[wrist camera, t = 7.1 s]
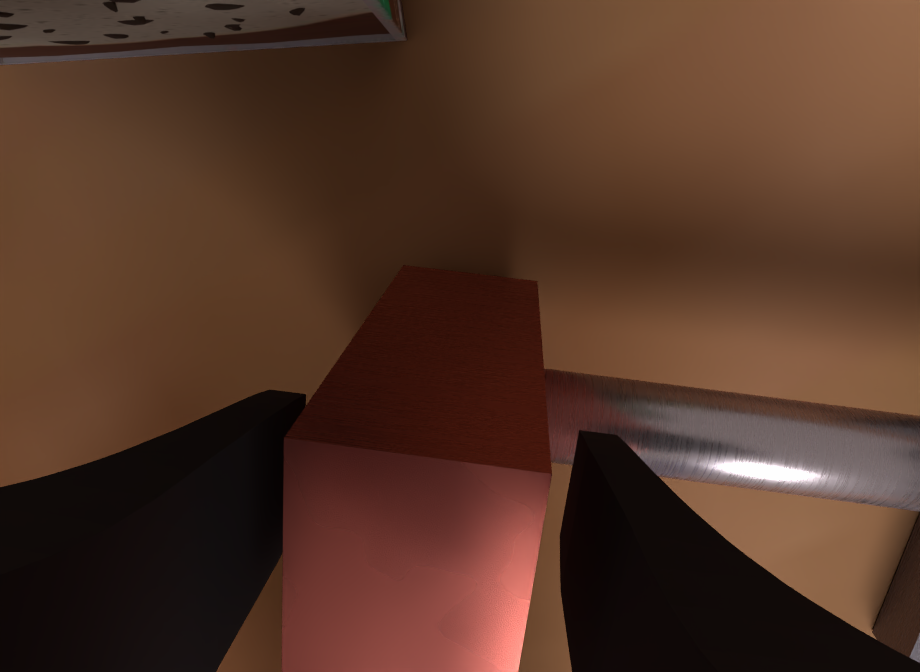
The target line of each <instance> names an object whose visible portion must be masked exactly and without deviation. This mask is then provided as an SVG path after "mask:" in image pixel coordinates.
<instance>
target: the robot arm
mask: <svg viewBox="0 0 920 672" xmlns="http://www.w3.org/2000/svg"><path fill="white" fill-rule="evenodd" d="M305 406H306V394H300V393H292V392H284V391H276V390H267V391H264V392H261V393H258V394H255V395H253V396H250V397H248V398H246V399H243V400H241V401H239V402H237V403H234V404H232V405H230V406H228V407H225V408H223V409H221V410H219V411H217V412H214V413H212V414H210V415H208V416H205V417H203V418H201V419H199V420H196V421H194V422H192V423H190V424H188V425H185V426H183V427H181V428H179V429H176V430H174V431H171V432H169V433H166V434H164V435H161V436H159V437H156V438H154V439H151V440H149V441H146V442H144V443H141V444H139V445H136V446H134V447H131V448H129V449H126V450H124V451H121V452H119V453H116V454H113V455H110V456H108V457H105V458H102V459H99V460H96V461H93V462H90V463H87V464H84V465H81V466H77V467H74V468H71V469H68V470H64V471H61V472H58V473H54V474H51V475H48V476H44V477H41V478H37V479H33V480H29V481H25V482H21V483H17V484H13V485H8V486H4V487H0V672H216V671H217V669H218V667H219V665H220V663H221V662H222V660H223V658H224V656H225V654H226V653H227V651H228V649H229V647H230V646H231V644H232V642H233V640H234V639H235V637H236V635H237V633H238V632H239V630H240V628H241V626H242V624H243V623H244V621H245V619H246V617H247V616H248V614H249V612H250V610H251V609H252V607H253V605H254V603H255V601H256V600H257V598H258V596H259V594H260V593H261V591H262V589H263V587H264V585H265V584H266V582H267V580H268V578H269V576H270V575H271V573H272V571H273V569H274V567H275V566H276V564H277V562H278V560H279V558H280V556H281V555H282V553H283V479H284V437H285V436H286V434H287V433H288V431H289V430H290V428H291V427H292V426H293V424H294V423H295V421H296V420H297V418H298V417H299V415H300V414H301V413H302V411H303V410H304V408H305ZM560 582H561V596H562V604H563V611H564V618H565V625H566V632H567V639H568V646H569V653H570V660H571V667H572V672H920V663H919V662H917V661H915V660H913V659H911V658H909V657H908V656H906V655H904V654H902V653H900V652H898V651H896V650H894V649H892V648H890V647H889V646H887V645H885V644H883V643H881V642H880V641H878V640H876V639H874V638H872V637H871V636H869V635H867V634H865V633H864V632H862V631H860V630H858V629H856V628H855V627H853V626H851V625H850V624H848V623H846V622H845V621H843V620H842V619H840V618H838V617H837V616H835V615H833V614H832V613H830V612H829V611H827V610H825V609H824V608H822V607H820V606H819V605H817V604H816V603H814V602H812V601H811V600H809V599H807V598H806V597H804V596H803V595H801V594H800V593H798V592H797V591H795V590H794V589H792V588H791V587H789V586H788V585H786V584H785V583H784V582H782V581H781V580H779V579H778V578H777V577H775V576H774V575H772V574H771V573H770V572H768V571H767V570H766V569H764V568H763V567H762V566H760V565H759V564H757V563H756V562H755V561H753V560H752V559H751V558H749V557H748V556H746V555H745V554H744V553H743V552H741V551H740V550H739V549H738V548H736V547H735V546H734V545H732V544H731V543H730V542H729V541H728V540H726V539H725V538H724V537H723V536H722V535H721V534H719V533H718V532H717V531H716V530H715V529H714V528H712V527H711V526H710V525H709V524H708V523H707V522H706V521H704V520H703V519H702V518H701V517H700V516H699V515H698V514H696V513H695V512H694V511H693V510H692V509H691V508H690V507H689V506H688V505H687V504H686V503H685V502H684V501H682V500H681V499H680V498H679V497H678V496H677V495H676V494H675V493H674V492H673V491H672V490H671V489H670V488H669V487H668V486H667V485H666V484H665V483H664V482H663V481H662V480H661V479H660V478H659V477H658V476H657V475H656V474H655V473H654V472H653V471H652V470H651V469H650V468H649V466H648V465H647V464H646V463H645V462H644V461H643V460H642V459H641V458H640V457H639V456H638V455H637V454H636V453H635V452H634V451H633V450H632V449H631V448H630V447H629V446H628V445H627V444H626V443H625V442H624V441H623V440H622V439H621V438H620V437H619V436H618V435H614V434H606V433H599V432H591V431H583V430H579V434H578V439H577V445H576V450H575V456H574V461H573V467H572V472H571V478H570V483H569V489H568V494H567V499H566V505H565V510H564V516H563V521H562V527H561V532H560Z"/></svg>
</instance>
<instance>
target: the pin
mask: <svg viewBox="0 0 920 672" xmlns="http://www.w3.org/2000/svg"><path fill="white" fill-rule="evenodd" d="M579 430H583V431H591V432H599V433H606V434H614V435H618V436H619V437H620V438H621V439H622V440H623V441H624V442H625V443H626V444H627V445H628V446H629V447H630V448H631V449H632V450H633V451H634V452H635V453H636V454H637V455H638V456H639V457H640V458H641V459H642V460H643V461H644V462H645V463H646V464H647V465H648V466H649V468H650V469H651V470H652V471H653V472H654V473H655V474H656V475H657V476H658V477H664V478H672V479H679V480H687V481H694V482H702V483H709V484H717V485H725V486H732V487H740V488H747V489H755V490H762V491H770V492H777V493H785V494H792V495H800V496H807V497H815V498H822V499H830V500H837V501H845V502H852V503H860V504H867V505H875V506H882V507H890V508H897V509H905V510H913V511H920V416H916V415H908V414H900V413H893V412H885V411H877V410H869V409H861V408H853V407H845V406H837V405H829V404H821V403H813V402H805V401H797V400H790V399H782V398H774V397H766V396H758V395H750V394H742V393H734V392H726V391H718V390H710V389H702V388H694V387H687V386H679V385H671V384H663V383H655V382H647V381H639V380H631V379H623V378H615V377H607V376H599V375H592V374H584V373H576V372H568V371H560V370H552V369H544V364H543V351H542V338H541V324H540V311H539V298H538V285H537V281H531V280H523V279H515V278H506V277H498V276H490V275H481V274H473V273H465V272H456V271H448V270H440V269H431V268H423V267H415V266H406V265H403V267H402V268H401V269H400V271H399V272H398V274H397V275H396V277H395V278H394V280H393V281H392V282H391V284H390V285H389V287H388V288H387V290H386V291H385V293H384V294H383V295H382V297H381V298H380V300H379V301H378V303H377V304H376V306H375V307H374V308H373V310H372V311H371V313H370V314H369V316H368V317H367V319H366V320H365V321H364V323H363V324H362V326H361V327H360V329H359V330H358V332H357V333H356V334H355V336H354V337H353V339H352V340H351V342H350V343H349V345H348V346H347V347H346V349H345V350H344V352H343V353H342V355H341V356H340V358H339V359H338V360H337V362H336V363H335V365H334V366H333V368H332V369H331V371H330V372H329V373H328V375H327V376H326V378H325V379H324V381H323V382H322V384H321V385H320V386H319V388H318V389H317V391H316V392H315V394H314V395H313V397H312V398H311V400H310V401H309V402H308V404H307V405H306V407H305V408H304V410H303V411H302V413H301V414H300V415H299V417H298V418H297V420H296V421H295V423H294V424H293V426H292V427H291V428H290V430H289V431H288V433H287V434H286V436H285V437H284V479H283V595H282V672H518V669H519V663H520V657H521V652H522V646H523V640H524V634H525V628H526V622H527V617H528V611H529V605H530V599H531V593H532V587H533V581H534V576H535V570H536V564H537V558H538V552H539V546H540V540H541V535H542V529H543V523H544V517H545V511H546V505H547V500H548V494H549V488H550V482H551V476H552V469H551V462H552V463H559V464H567V465H573V461H574V456H575V450H576V445H577V439H578V434H579Z"/></svg>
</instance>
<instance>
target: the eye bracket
mask: <svg viewBox="0 0 920 672" xmlns="http://www.w3.org/2000/svg"><path fill="white" fill-rule="evenodd" d="M872 633H873V634H874V636H875V637H876V639H877V640H878V641H880V642H881V643H883V644H885V645H887V646H889V647H890V648H892V649H894V650H896V651H898V652H900V653H902V654H904V655H906V656H908V657H909V658H911V659H913V660H915V661H917V662H919V663H920V514H919V517H918V519H917V522H916V524H915V527H914V529H913V532H912V534H911V537H910V539H909V542H908V544H907V547H906V549H905V552H904V554H903V557H902V559H901V562H900V564H899V567H898V569H897V572H896V574H895V576H894V579H893V581H892V584H891V586H890V589H889V591H888V594H887V596H886V599H885V601H884V604H883V606H882V609H881V611H880V614H879V616H878V619H877V621H876V624H875V626H874V629H873V631H872Z"/></svg>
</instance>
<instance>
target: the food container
mask: <svg viewBox="0 0 920 672" xmlns="http://www.w3.org/2000/svg"><path fill="white" fill-rule="evenodd" d="M391 41H407V35H406V28H405V21H404V15H403V8H402V1H401V0H0V65H10V64H27V63H43V62H60V61H76V60H93V59H109V58H126V57H143V56H159V55H176V54H192V53H209V52H225V51H242V50H258V49H275V48H291V47H308V46H324V45H341V44H358V43H374V42H391Z"/></svg>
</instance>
